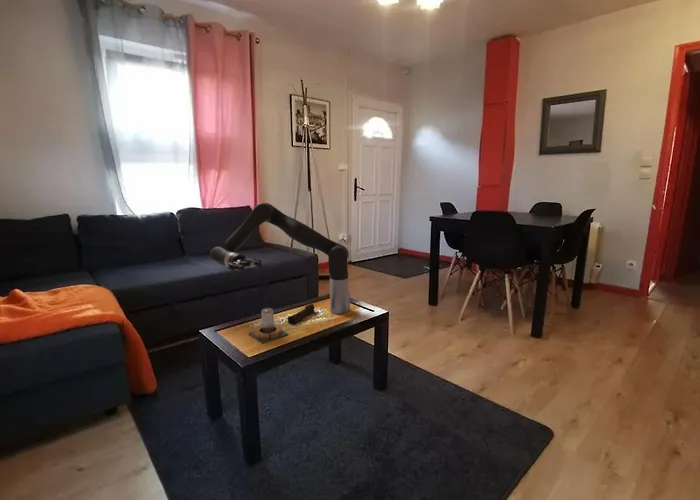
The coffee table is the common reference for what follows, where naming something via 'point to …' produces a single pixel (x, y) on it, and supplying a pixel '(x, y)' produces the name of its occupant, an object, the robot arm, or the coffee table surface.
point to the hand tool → (301, 314)
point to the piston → (267, 320)
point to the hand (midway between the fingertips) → (252, 266)
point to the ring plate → (268, 334)
